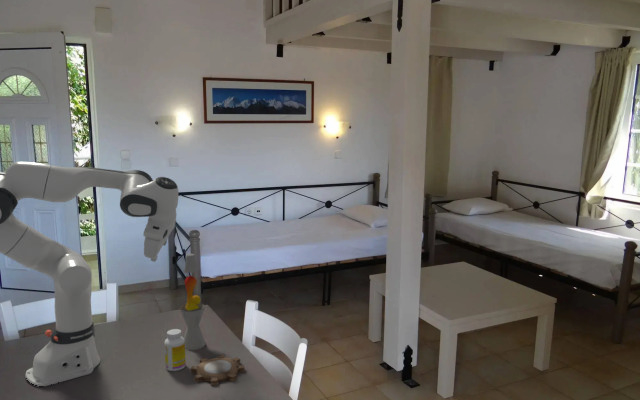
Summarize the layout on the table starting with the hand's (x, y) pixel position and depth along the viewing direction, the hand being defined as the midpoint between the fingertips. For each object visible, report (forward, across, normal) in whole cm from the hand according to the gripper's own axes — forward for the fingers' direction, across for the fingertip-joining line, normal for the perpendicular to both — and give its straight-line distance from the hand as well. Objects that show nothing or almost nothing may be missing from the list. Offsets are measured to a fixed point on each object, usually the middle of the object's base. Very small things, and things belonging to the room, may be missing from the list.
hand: (158, 251), depth 177 cm
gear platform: (+22, +26, +32) cm, 47 cm away
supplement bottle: (+27, +25, +17) cm, 40 cm away
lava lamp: (+32, +9, +19) cm, 39 cm away
